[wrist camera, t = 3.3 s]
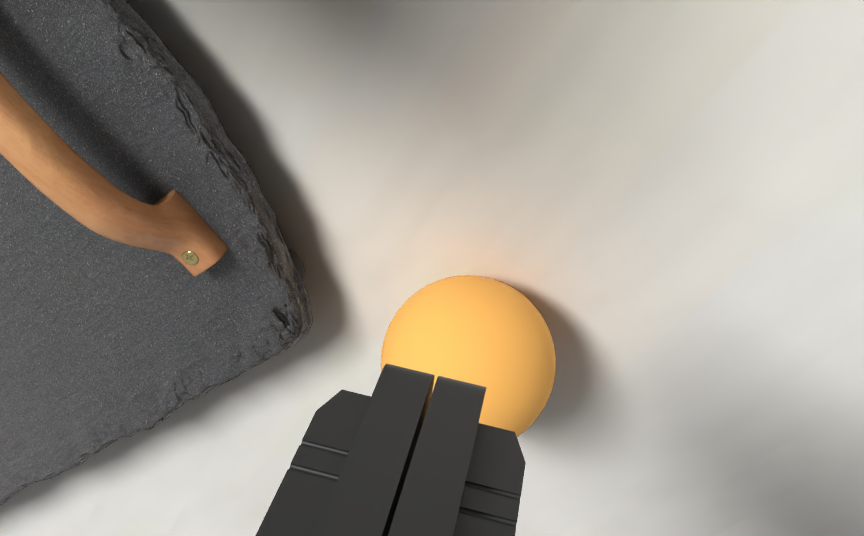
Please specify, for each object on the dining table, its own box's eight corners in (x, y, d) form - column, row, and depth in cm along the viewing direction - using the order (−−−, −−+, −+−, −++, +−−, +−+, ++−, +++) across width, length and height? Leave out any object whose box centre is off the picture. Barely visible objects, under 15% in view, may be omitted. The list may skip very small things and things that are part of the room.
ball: (414, 227, 28) (367, 326, 23) (579, 264, 27) (567, 375, 22) (396, 352, 31) (353, 462, 26) (543, 388, 30) (526, 508, 26)
